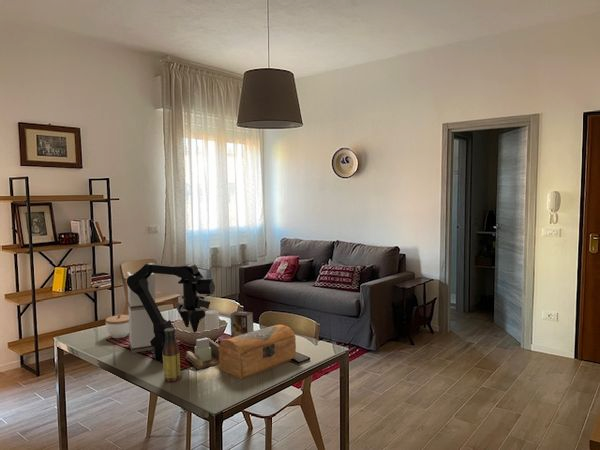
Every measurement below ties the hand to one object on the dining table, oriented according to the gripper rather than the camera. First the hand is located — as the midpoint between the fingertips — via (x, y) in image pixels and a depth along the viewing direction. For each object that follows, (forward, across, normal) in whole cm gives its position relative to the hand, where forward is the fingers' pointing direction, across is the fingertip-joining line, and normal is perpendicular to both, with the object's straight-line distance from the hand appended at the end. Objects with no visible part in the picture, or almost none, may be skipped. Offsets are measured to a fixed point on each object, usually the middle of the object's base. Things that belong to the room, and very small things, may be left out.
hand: (191, 329), depth 195 cm
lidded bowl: (+13, +52, +18) cm, 57 cm away
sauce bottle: (+13, -16, +14) cm, 25 cm away
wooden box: (+14, -22, -21) cm, 33 cm away
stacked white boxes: (+13, +28, +13) cm, 34 cm away
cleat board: (+13, -5, -4) cm, 14 cm away
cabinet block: (+12, -5, -3) cm, 13 cm away
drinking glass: (+13, +15, -16) cm, 26 cm away
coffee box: (+13, +1, -25) cm, 28 cm away
